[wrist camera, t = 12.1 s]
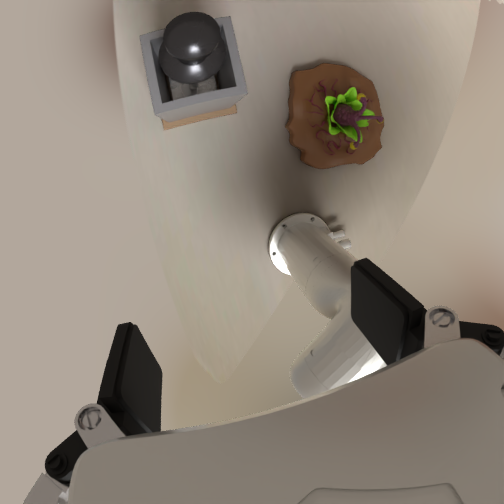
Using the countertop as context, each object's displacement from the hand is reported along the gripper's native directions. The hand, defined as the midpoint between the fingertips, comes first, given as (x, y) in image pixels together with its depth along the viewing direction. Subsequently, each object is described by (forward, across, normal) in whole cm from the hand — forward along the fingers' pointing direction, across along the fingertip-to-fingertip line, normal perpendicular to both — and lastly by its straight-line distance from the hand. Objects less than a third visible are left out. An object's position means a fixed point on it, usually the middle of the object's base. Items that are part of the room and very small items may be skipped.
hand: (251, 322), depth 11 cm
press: (+38, -1, -16) cm, 42 cm away
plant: (+39, -25, -7) cm, 47 cm away
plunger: (+37, -1, -16) cm, 40 cm away
